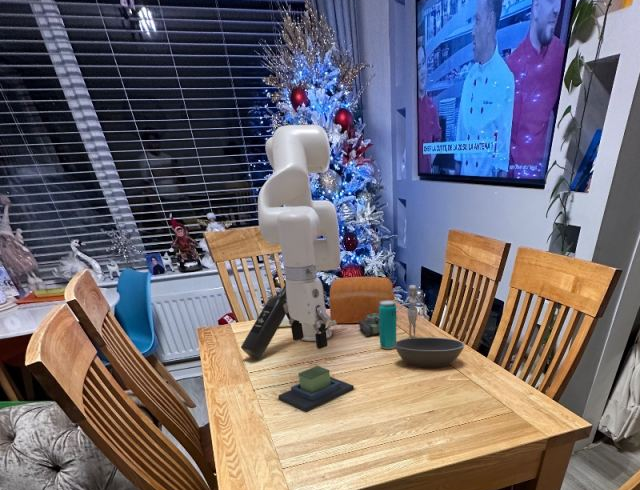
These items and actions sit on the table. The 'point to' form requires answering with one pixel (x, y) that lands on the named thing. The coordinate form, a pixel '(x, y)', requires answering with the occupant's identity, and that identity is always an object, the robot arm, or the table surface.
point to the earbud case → (285, 322)
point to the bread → (358, 297)
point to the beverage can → (387, 324)
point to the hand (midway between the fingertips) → (310, 343)
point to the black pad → (315, 395)
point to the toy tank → (370, 325)
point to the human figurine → (412, 308)
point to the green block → (314, 379)
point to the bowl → (429, 351)
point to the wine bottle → (265, 326)
